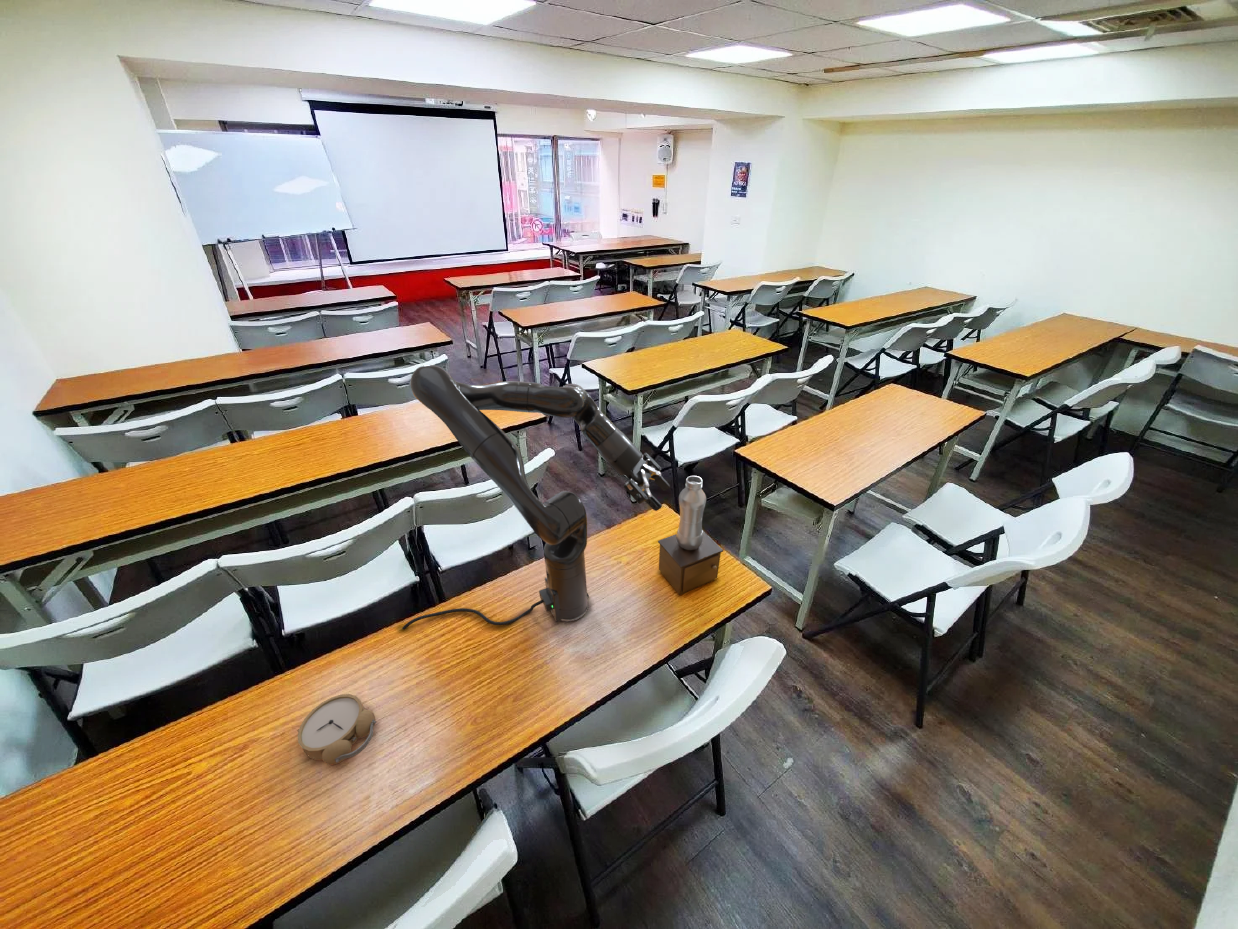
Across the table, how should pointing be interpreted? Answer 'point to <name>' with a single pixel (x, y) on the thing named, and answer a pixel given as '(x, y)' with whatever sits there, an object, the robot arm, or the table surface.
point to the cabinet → (689, 563)
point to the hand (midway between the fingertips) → (663, 498)
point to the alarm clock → (336, 729)
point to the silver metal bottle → (691, 514)
